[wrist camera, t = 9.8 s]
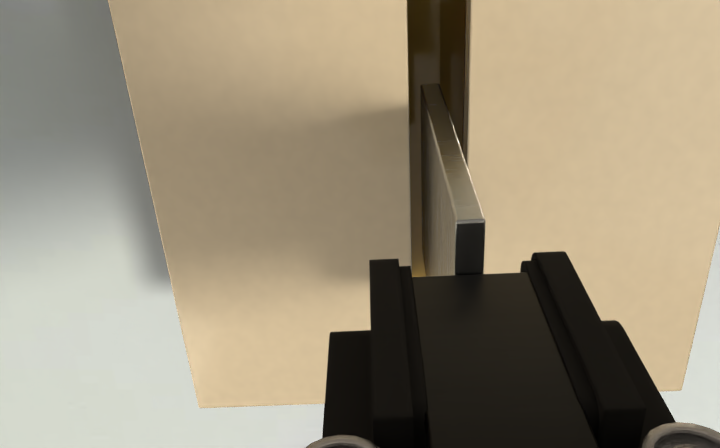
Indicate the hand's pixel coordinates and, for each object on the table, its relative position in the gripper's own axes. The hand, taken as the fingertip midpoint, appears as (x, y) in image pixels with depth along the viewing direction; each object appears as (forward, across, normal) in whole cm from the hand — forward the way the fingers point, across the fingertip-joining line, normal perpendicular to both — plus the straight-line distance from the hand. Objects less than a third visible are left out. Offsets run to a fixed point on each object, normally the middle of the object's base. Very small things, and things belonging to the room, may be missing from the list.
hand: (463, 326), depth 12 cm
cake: (+13, 0, 0) cm, 13 cm away
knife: (+7, 0, 0) cm, 7 cm away
